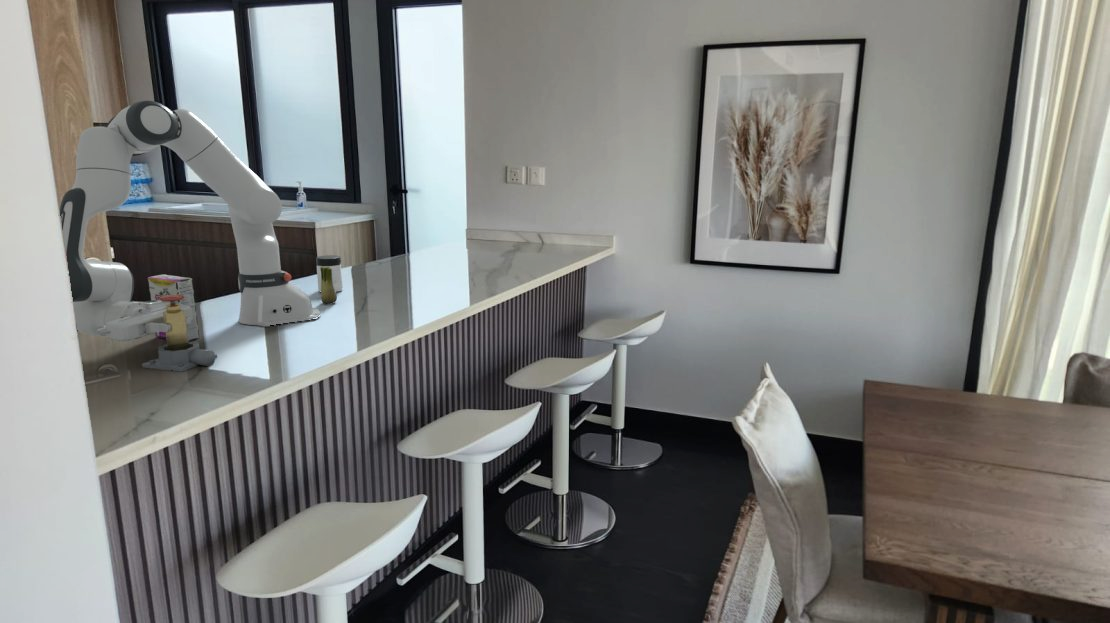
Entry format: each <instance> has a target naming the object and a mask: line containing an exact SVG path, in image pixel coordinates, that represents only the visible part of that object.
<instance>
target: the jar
mask: <svg viewBox="0 0 1110 623" xmlns="http://www.w3.org/2000/svg"><path fill="white" fill-rule="evenodd" d="M341 258H342V257H341V256H339V255H333V254H331V255H328V254H327V255H320V256H316V258H315V261H316V275H317V276H316V278H317V290H318V292H319V291H321V267H330V268H331V269H332V282H333V287H334V290H335V291H341V292H342V291H343V289H342V288H343V275H342V260H341Z"/></svg>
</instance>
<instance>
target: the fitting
mask: <svg viewBox="0 0 1110 623" xmlns="http://www.w3.org/2000/svg"><path fill="white" fill-rule="evenodd" d="M188 342H189V348H188V349H185V350H177V351H168V347H167V344H165V345H161V346H158V347H157V351H158V352H157V353H158V358H155V359H151V360H149V361H146V362H144V363H141V365H142V366H141V367H142V368H146V369H152V370H161V371H171V370H173V372H180V373H181V372H182V371H183V372H185V371H187V370H190V369H192V368H195V367H197V366H206V367H210V365H211V366H212V365H213V364H214V363H215V361H216V359H217V358H218V354H216V353H215V351H213V350H211V349H202V348H201V349H200V344H199V342H197V341H196V342H195V341H188ZM216 357H217V358H216Z"/></svg>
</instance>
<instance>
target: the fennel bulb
mask: <svg viewBox="0 0 1110 623" xmlns="http://www.w3.org/2000/svg"><path fill="white" fill-rule="evenodd" d="M320 299H321V303H322V304H324V303H332V304H334V303H336V301H337V300H338V295H337V292H335V290H334V287H333V282H332V269H331V268H330V267H321V293H320ZM333 302H334V303H333Z"/></svg>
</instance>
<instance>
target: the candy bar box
mask: <svg viewBox="0 0 1110 623" xmlns="http://www.w3.org/2000/svg"><path fill="white" fill-rule="evenodd" d="M147 282H148V283H147V284H148V289H149V297H150V301H152V300H160V297H161V296H165V295H172V294H181V295H184V299H182V300H177V301H175V304H181V305H187V306H190V307H191V308H192V313H193V320H192V321H190V324H189V325H186V326H187V334H188V342H191V341H194V340H198V339H200V333H199V332H200V331H199V330H200V329H199V324H198V315H197V308H196V305H197V304H196V298H195V291H194V282H193V278H191V277H185V276H177V275H171V274H158V275H153V276H149V277H147ZM162 302H163V303H170V301H162ZM154 334H155V337H156V338H160V339H165V340H166V332H155V333H154ZM193 339H194V340H193ZM190 340H191V341H190Z"/></svg>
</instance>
